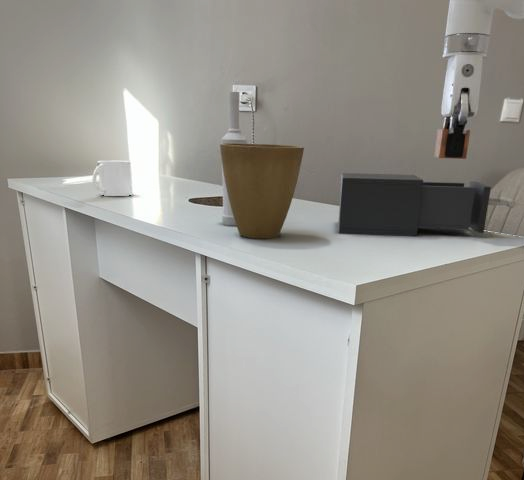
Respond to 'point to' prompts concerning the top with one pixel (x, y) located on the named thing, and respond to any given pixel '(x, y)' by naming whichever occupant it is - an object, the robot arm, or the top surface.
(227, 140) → the bottle
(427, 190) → the drawer
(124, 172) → the mug
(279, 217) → the plant pot
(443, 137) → the block
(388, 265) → the top surface
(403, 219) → the cabinet
